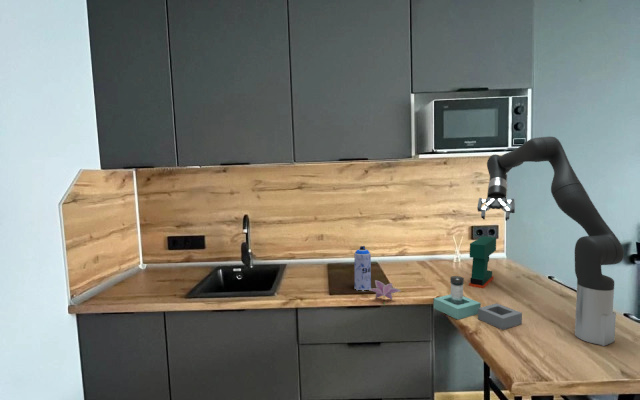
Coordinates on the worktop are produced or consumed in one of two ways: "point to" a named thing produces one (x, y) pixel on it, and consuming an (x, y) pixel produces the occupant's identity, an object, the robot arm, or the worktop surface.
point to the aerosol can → (362, 269)
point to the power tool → (481, 261)
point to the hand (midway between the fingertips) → (494, 218)
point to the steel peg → (457, 289)
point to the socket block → (500, 316)
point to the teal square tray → (456, 307)
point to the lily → (384, 289)
